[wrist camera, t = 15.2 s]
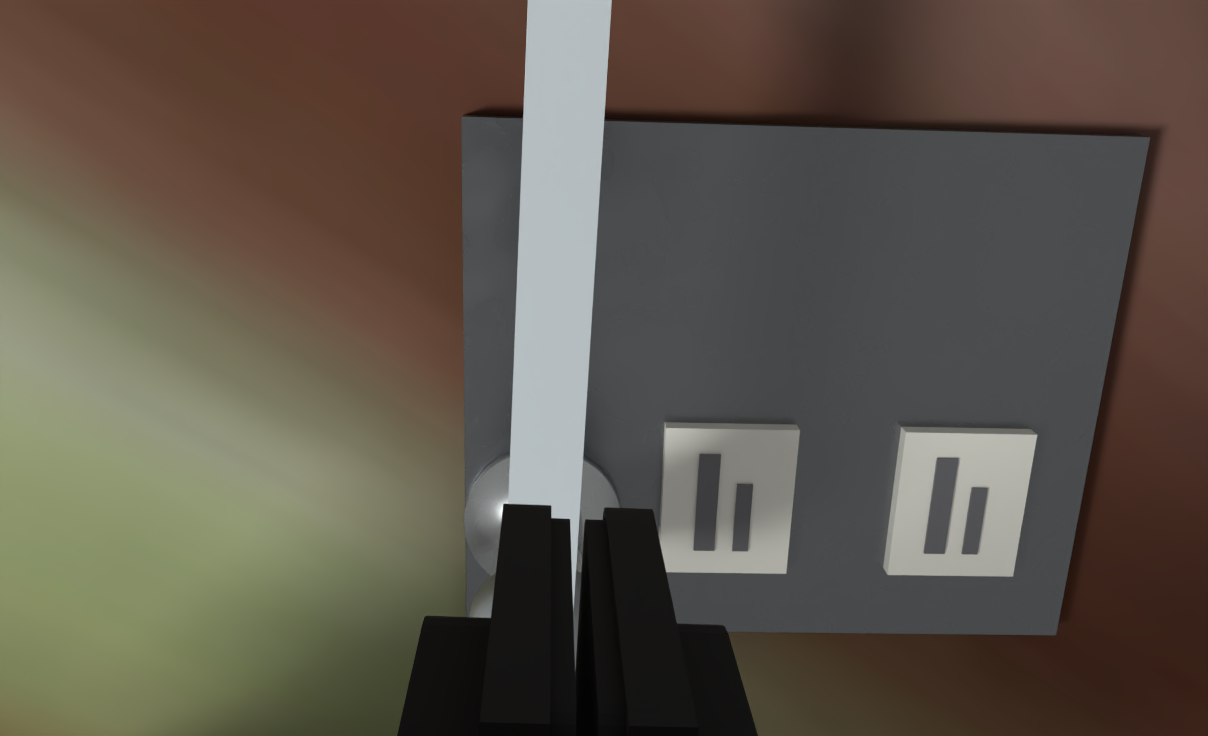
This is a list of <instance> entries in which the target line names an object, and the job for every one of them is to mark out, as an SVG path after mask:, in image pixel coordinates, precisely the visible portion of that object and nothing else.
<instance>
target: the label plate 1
mask: <svg viewBox="0 0 1208 736" xmlns="http://www.w3.org/2000/svg"><path fill="white" fill-rule="evenodd" d="M799 435H800V430H799V428H798V426H797V425H788V424H734V423H680V422H665V428H664V447H663V465H662V484H661V503H660V522H659V540H660V545H661V550H662V555H663V559H664V564H665V569H666V572H687V573H766V574H786V570H787V560H788V550H789V539H790V529H791V518H792V508H793V498H794V487H795V477H796V466H797V456H798V446H799Z"/></svg>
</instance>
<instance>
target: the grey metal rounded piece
mask: <svg viewBox="0 0 1208 736" xmlns="http://www.w3.org/2000/svg"><path fill="white" fill-rule="evenodd" d="M509 471H510V452H508V453H506V454H504V455H502V456H500V457H499V458H497V459H496V460H494V461H493V462H492V463H491V464H489V465H488V466H487V467H486V468H485V469H484V470H483V471H482V472H481V474H480V475H479V476H478V478H477V479H476V481H475V482H474V484H473V486H472V488H471V490H470V493H469V496H468V499H467V504H466V509H465V514H464V529H465V535H466V540H467V543H468V545H469V548H470V550H471V552H472V554H473V556H474V558H475V559H476V560H477V562H478V563H479V564H480V566H481V567H482V568H483V569H484V570H485V571H486V572H487V573H488V574H490V575H491V576H492V575H493V574H495V573H496V567H497V557H498V548H499V539H500V530H501V521H502V512H503V504H508V496H509ZM605 507H610V508H621V507H620V502H619V498H618V495H617V492H616V489H615V487H614V485H613V483H612V482H611V480H610V479H609V477H608V476H607V474H606V473H605V472H604V471H603V470H602V469H601V468H600V467H599V466H598V465H597V464H596V463H595V462H593V461H592V460H591V459H589V458H587V457H586V456H584V455H583V467H582V483H581V499H580V516H579V532H578V548H577V564H576V570H577V571H578V572H580V573H581V570H582V553H583V537H584V524H585V519H589V520H603V512H604V508H605Z"/></svg>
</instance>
